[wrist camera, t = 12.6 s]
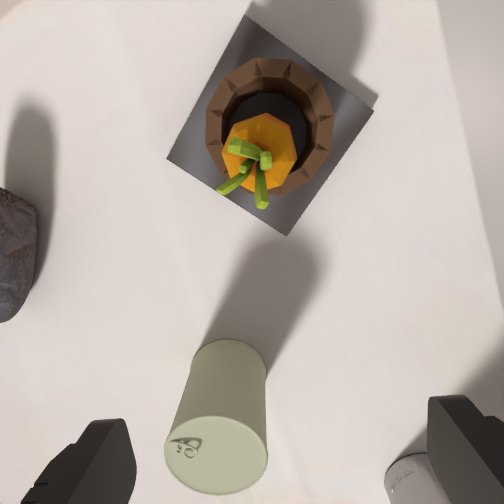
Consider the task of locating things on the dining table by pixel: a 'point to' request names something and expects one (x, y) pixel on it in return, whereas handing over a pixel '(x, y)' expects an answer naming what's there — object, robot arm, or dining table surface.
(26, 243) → the perforated stone tool
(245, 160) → the carrot
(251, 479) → the can
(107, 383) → the dining table surface
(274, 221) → the holder
